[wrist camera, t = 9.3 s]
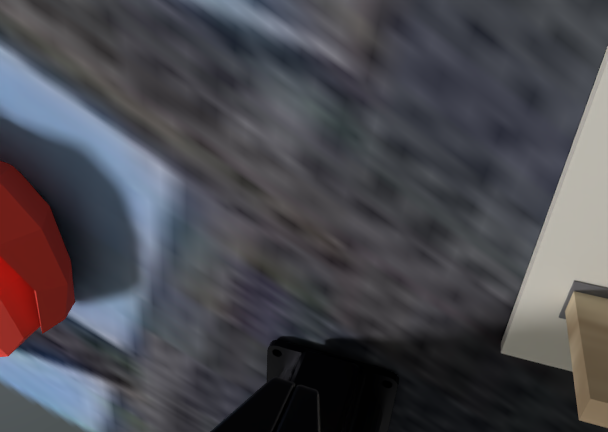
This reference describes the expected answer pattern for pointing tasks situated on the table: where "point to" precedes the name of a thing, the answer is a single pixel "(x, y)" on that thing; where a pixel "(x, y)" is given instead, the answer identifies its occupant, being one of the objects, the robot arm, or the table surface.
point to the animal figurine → (29, 263)
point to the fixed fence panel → (589, 355)
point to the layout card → (567, 243)
